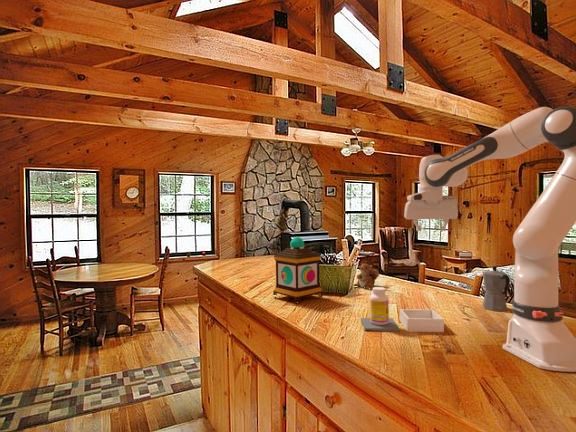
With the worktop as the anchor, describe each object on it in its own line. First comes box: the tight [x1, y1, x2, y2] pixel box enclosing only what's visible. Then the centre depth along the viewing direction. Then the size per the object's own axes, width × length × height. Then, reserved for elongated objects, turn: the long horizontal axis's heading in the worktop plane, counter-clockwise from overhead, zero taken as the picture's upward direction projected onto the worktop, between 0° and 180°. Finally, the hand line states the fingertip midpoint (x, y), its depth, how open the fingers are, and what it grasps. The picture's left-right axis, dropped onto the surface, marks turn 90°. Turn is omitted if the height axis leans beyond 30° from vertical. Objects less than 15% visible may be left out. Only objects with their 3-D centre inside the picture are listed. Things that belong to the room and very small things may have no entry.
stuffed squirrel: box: [352, 263, 380, 290], centre depth 202 cm, size 10×14×13 cm
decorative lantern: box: [272, 236, 324, 303], centre depth 178 cm, size 20×20×30 cm
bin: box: [399, 308, 445, 333], centre depth 134 cm, size 12×12×4 cm
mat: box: [360, 317, 401, 332], centre depth 135 cm, size 12×12×1 cm
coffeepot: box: [482, 266, 511, 312], centre depth 155 cm, size 15×9×18 cm, turn 6°
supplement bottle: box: [369, 286, 390, 325], centre depth 135 cm, size 7×7×13 cm
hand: (430, 230), depth 146 cm, fingers open, 8 cm apart
